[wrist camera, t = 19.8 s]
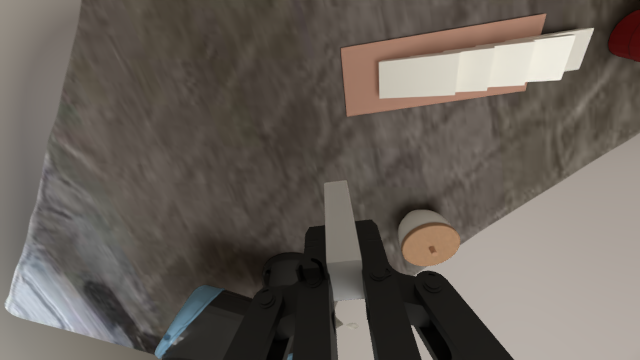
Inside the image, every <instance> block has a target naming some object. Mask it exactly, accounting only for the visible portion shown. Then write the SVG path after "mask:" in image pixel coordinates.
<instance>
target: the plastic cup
mask: <svg viewBox="0 0 640 360" xmlns="http://www.w3.org/2000/svg"><path fill="white" fill-rule="evenodd" d="M608 46H609V50H610V51H611V52H612V53H613V54H614V55H616V56H619V57H624V58H628V59H633V60H634V61H637V62H640V9H639V10H637V11H634V12H632V13H631V14H629V15H627V16H626V17H624V18H623V19H622V20H621V21H620V22H619V23H618V24H617V25H616V27H615V29H614V30H613V32H612V33H611V35H610V39H609V42H608Z"/></svg>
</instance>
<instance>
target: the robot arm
mask: <svg viewBox="0 0 640 360" xmlns="http://www.w3.org/2000/svg"><path fill="white" fill-rule="evenodd" d="M324 195H325V225H323V226H314V227H309V229H308V230H307V232H306V234H305V249H304V255H303V254H299V253H284V254H280V255H277V256H275V257H273V258H271V259H270V260H269V261H268V262H267V263H266V264H265V266H264V269H263V273H262V286H263V289H261V290H260V291H259V292H257V293H256V295H255V296H254V298H253V299H252V298H249V297H246V296H243V295H239V294H236V293H233V292H230V291H227V290H225V289H224V288H216V287H212V286H209V285H202V286H200V287H198V288H197V289H195V290H194V291H193V293H192V294H191V295H190V297H189V298H188V299H187V301H186V302H185V304H184V305H183V307H182V308H181V310H180V311H179V313H178V314H177V316H176V317H175V319H174V320H173V322H172V324H171V325H170V327H169V328H168V330H167V332H166V334H165V335H164V337H163V339H162V340H161V341H160V343H159V345H158V347H157V349H156V351H155V356H157V357H158V359H161V358H162V360H338V354H337V336H336V319H335V310H334V301H342V300H352V299H364V298H365V302H366V313H367V320H368V324H369V329H370V336H371V342H372V347H373V354H374V359H375V360H421V356H420V353H419V350H418V347H417V344H416V341H415V337H414V334H413V331H412V328H411V325H414V327H415V329H416V331H417V332H418V334H419V336H420V338H421V339H422V341H423V343H424V345H425V346H426V348H427V350H428V351H429V353H430V355H431V357H432V358H433V360H514V359H513V358H512V357H511V356H510V354H509V353H508V352H507V351H506V350H505V348H504V347H503V346H502V345H501V344H500V343H499V341H498V340H497V339H496V338H495V336H494V335H493V334H492V333H491V332H490V330H489V329H488V328H487V327H486V326H485V325H484V323H483V322H482V321H481V320H480V319H479V317H478V316H477V315H476V314H475V313H474V311H473V310H472V309H471V308H470V307H469V305H468V304H467V303H466V302H465V301H464V300H463V299H462V297H461V296H460V295H459V294H458V292H457V291H456V290H455V289H454V288H453V286H452V285H451V284H450V283H449V282H448V280H447V279H446V278H444V277H443V276H442V275H441V274H439V273H436V272H433V271H422V272H420V273H419V274H417V276H416V277H415V276H410V275H405V274H402V273H399V272H397V271H396V270H394V269H393V268H392V267H391V266H390V264H389V262H388V259H387V256H386V253H385V250H384V246H383V243H382V240H381V237H380V234H379V230H378V227H377V225H376V224H375V223H374V222H373V221H372V220H363V221H354V216H353V211H352V206H351V200H350V195H349V190H348V185H347V180H343V181H336V182H328V183H324Z"/></svg>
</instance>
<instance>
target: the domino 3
mask: <svg viewBox="0 0 640 360" xmlns="http://www.w3.org/2000/svg"><path fill="white" fill-rule="evenodd" d="M535 45H536V41H534V40H530V41H521V42H513V43H505V44H496V45H488V46H479V47H471V48H462V49H454V50H446V51H443V52H450V51H458V50H467V49H475V48H484V47H492V46H494V47H495V53H494V58H493V63H492V68H491V73H490V78H489V83H488V87H503V86H522V85H525V81H526V78H527V74H528V70H529V67H530V63H531V59H532V56H533V52H534V48H535Z"/></svg>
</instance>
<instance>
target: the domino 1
mask: <svg viewBox="0 0 640 360" xmlns="http://www.w3.org/2000/svg"><path fill="white" fill-rule="evenodd" d="M460 54H461V51H458V52H449V53H441V54H432V55H423V56H415V57H406V58H398V59H389V60H382V61H380V62H379V99H382V98H404V97H427V96H449V95H455V91H456V84H457V76H458V69H459V62H460Z"/></svg>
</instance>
